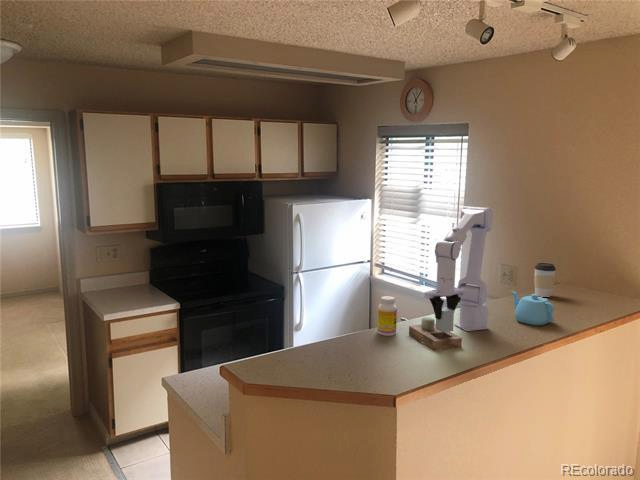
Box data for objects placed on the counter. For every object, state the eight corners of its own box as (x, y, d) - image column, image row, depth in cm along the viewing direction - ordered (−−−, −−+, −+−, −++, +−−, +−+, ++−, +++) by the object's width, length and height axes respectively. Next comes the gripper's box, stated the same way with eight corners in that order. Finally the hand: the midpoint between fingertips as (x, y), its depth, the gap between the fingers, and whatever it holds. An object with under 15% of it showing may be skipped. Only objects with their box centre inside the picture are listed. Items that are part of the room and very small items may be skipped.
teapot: (519, 286, 204) (563, 296, 190) (517, 312, 206) (561, 324, 191) (501, 291, 196) (546, 301, 182) (499, 318, 198) (544, 330, 184)
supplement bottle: (395, 337, 175) (397, 300, 173) (376, 335, 176) (377, 299, 174) (396, 330, 182) (397, 295, 180) (377, 329, 183) (378, 294, 181)
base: (433, 331, 182) (434, 314, 181) (461, 346, 166) (462, 329, 165) (408, 334, 178) (409, 317, 177) (435, 350, 163) (435, 332, 162)
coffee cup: (534, 297, 228) (537, 265, 226) (530, 292, 237) (532, 261, 235) (556, 298, 227) (559, 265, 225) (550, 293, 236) (553, 262, 233)
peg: (445, 327, 170) (446, 307, 169) (453, 331, 166) (453, 310, 165) (435, 328, 169) (436, 308, 168) (442, 332, 165) (443, 311, 164)
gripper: (456, 273, 172) (454, 312, 174) (419, 276, 166) (418, 316, 168) (470, 277, 165) (467, 318, 167) (432, 281, 160) (430, 322, 162)
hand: (443, 317), depth 167 cm, fingers closed on peg, 4 cm apart
